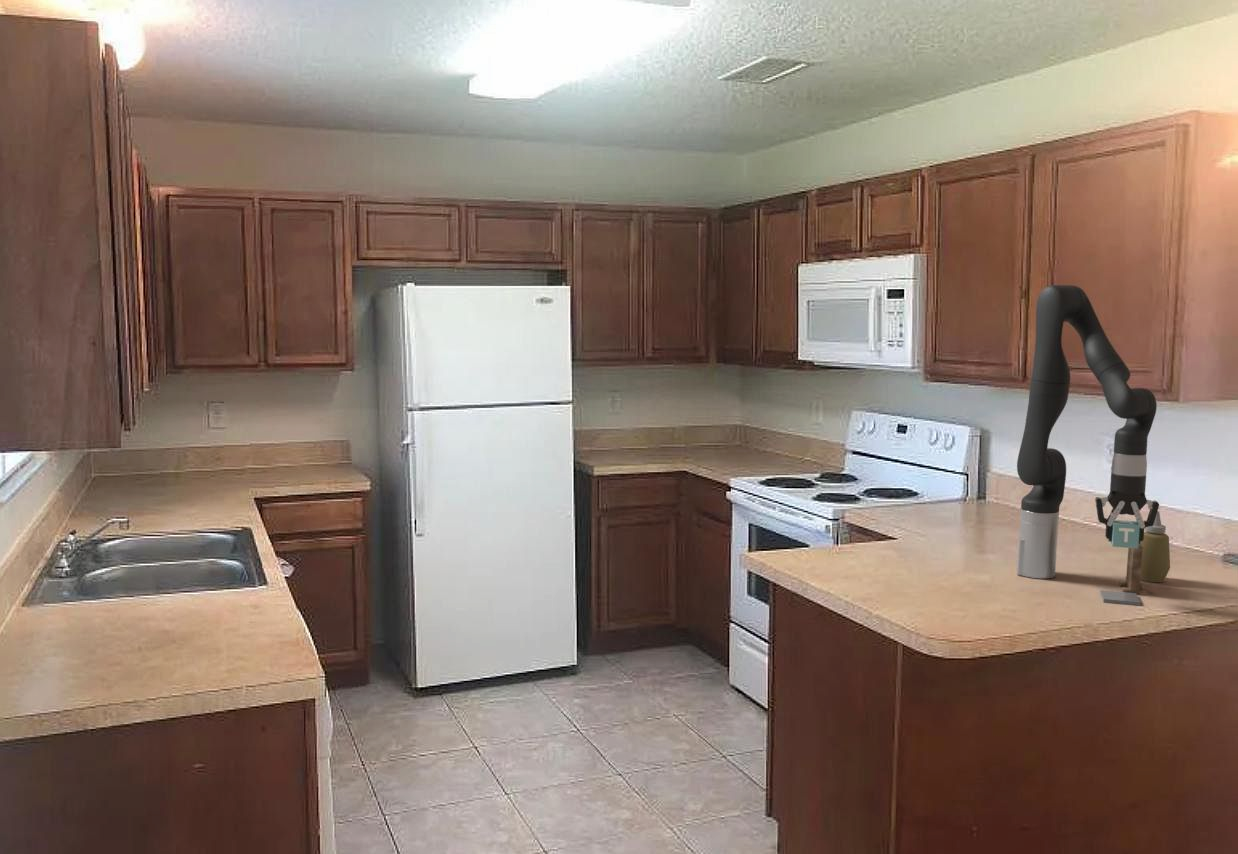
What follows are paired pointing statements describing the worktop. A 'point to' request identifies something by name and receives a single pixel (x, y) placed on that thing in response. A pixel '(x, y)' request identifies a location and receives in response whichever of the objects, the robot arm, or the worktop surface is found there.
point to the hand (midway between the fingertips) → (1124, 541)
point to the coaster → (1120, 597)
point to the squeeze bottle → (1155, 552)
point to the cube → (1125, 534)
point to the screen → (1133, 572)
